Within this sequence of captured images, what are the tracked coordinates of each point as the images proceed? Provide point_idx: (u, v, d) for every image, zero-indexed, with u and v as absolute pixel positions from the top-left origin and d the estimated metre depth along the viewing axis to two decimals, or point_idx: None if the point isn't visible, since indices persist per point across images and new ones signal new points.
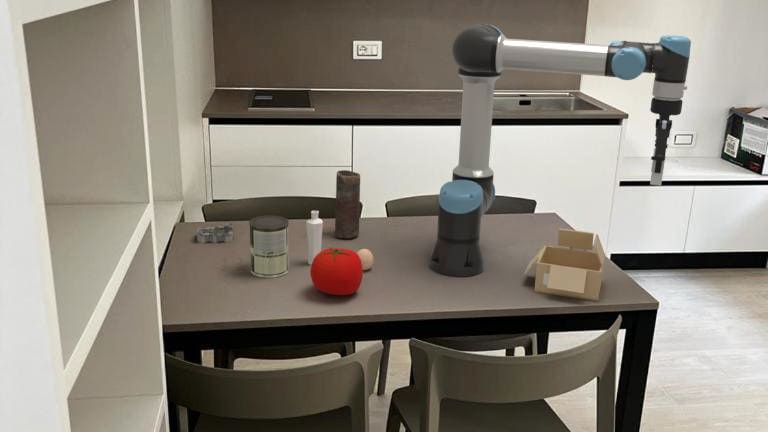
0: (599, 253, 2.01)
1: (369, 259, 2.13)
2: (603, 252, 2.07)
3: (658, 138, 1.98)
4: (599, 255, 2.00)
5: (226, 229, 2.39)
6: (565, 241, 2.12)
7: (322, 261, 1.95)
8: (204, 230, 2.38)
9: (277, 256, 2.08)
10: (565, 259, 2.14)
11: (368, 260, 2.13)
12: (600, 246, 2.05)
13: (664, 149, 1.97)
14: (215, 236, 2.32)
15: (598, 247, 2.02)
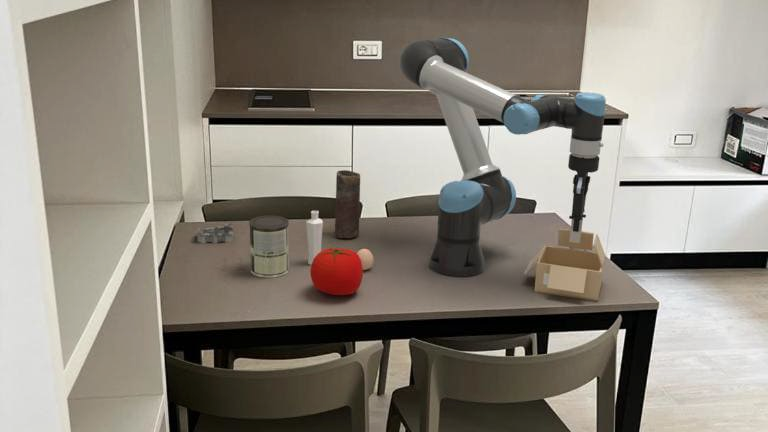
0: (599, 253, 2.01)
1: (369, 259, 2.13)
2: (603, 252, 2.07)
3: (574, 202, 2.01)
4: (599, 255, 2.00)
5: (226, 229, 2.39)
6: (565, 241, 2.12)
7: (323, 261, 1.95)
8: (204, 230, 2.38)
9: (277, 256, 2.08)
10: (565, 259, 2.14)
11: (368, 260, 2.13)
12: (600, 246, 2.05)
13: (580, 212, 2.02)
14: (215, 236, 2.32)
15: (598, 247, 2.02)
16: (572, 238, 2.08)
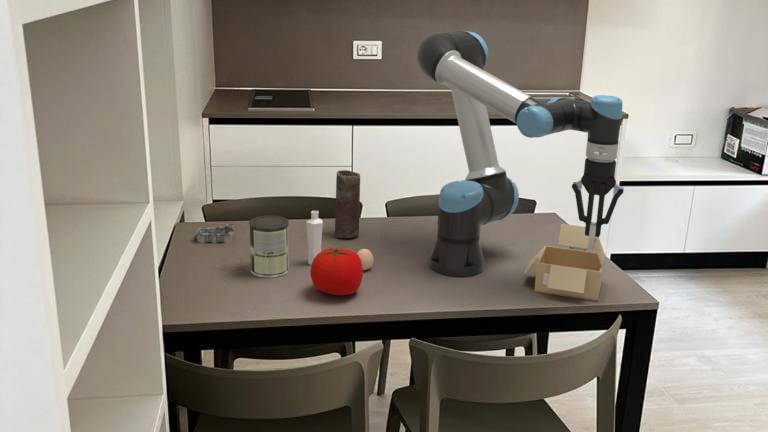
0: (599, 253, 2.01)
1: (369, 259, 2.13)
2: (603, 252, 2.07)
3: None
4: (599, 255, 2.00)
5: (227, 229, 2.39)
6: (566, 239, 2.14)
7: (323, 262, 1.95)
8: (205, 230, 2.38)
9: (277, 256, 2.08)
10: (565, 259, 2.14)
11: (368, 260, 2.13)
12: (600, 246, 2.05)
13: (578, 211, 2.02)
14: (214, 236, 2.32)
15: (598, 247, 2.02)
16: None
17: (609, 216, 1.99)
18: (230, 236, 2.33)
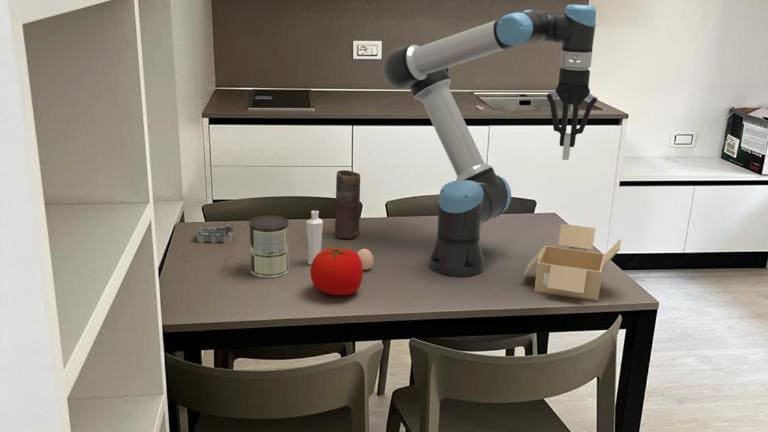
0: (611, 256, 2.00)
1: (369, 259, 2.13)
2: (608, 254, 2.06)
3: None
4: (610, 258, 2.00)
5: (227, 230, 2.38)
6: (566, 239, 2.14)
7: (322, 262, 1.95)
8: (206, 230, 2.38)
9: (277, 256, 2.08)
10: (565, 259, 2.14)
11: (368, 260, 2.13)
12: (613, 249, 2.04)
13: None
14: (214, 236, 2.32)
15: (615, 251, 2.01)
16: None
17: (583, 125, 2.03)
18: (229, 236, 2.33)
